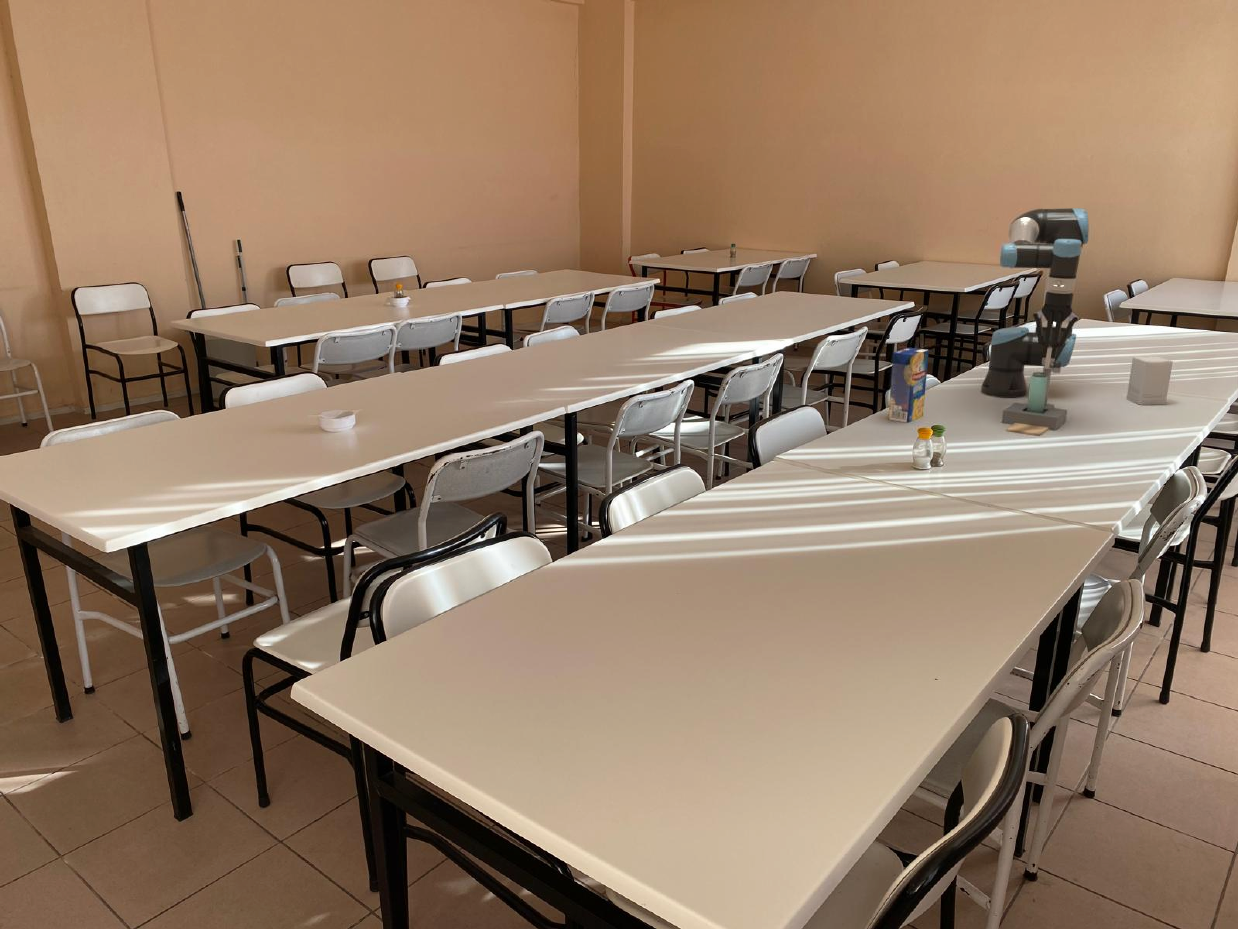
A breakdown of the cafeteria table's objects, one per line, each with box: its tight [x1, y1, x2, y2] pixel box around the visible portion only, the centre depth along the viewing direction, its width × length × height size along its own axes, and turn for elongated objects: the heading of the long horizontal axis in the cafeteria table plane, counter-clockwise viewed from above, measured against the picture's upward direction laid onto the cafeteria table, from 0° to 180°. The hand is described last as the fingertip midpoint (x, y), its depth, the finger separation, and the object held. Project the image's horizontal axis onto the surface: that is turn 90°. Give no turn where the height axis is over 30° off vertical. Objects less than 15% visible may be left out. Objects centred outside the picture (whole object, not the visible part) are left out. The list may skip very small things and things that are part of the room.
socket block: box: [1001, 366, 1068, 431], centre depth 282 cm, size 16×16×16 cm
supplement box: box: [1126, 355, 1173, 406], centre depth 301 cm, size 9×9×15 cm
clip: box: [1041, 358, 1062, 374], centre depth 279 cm, size 12×4×3 cm, turn 170°
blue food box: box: [887, 347, 929, 423], centre depth 288 cm, size 7×11×22 cm, turn 137°
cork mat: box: [1005, 423, 1049, 437], centre depth 275 cm, size 10×10×1 cm
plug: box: [1027, 371, 1048, 414], centre depth 280 cm, size 5×5×16 cm
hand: (1047, 367), depth 277 cm, fingers closed
